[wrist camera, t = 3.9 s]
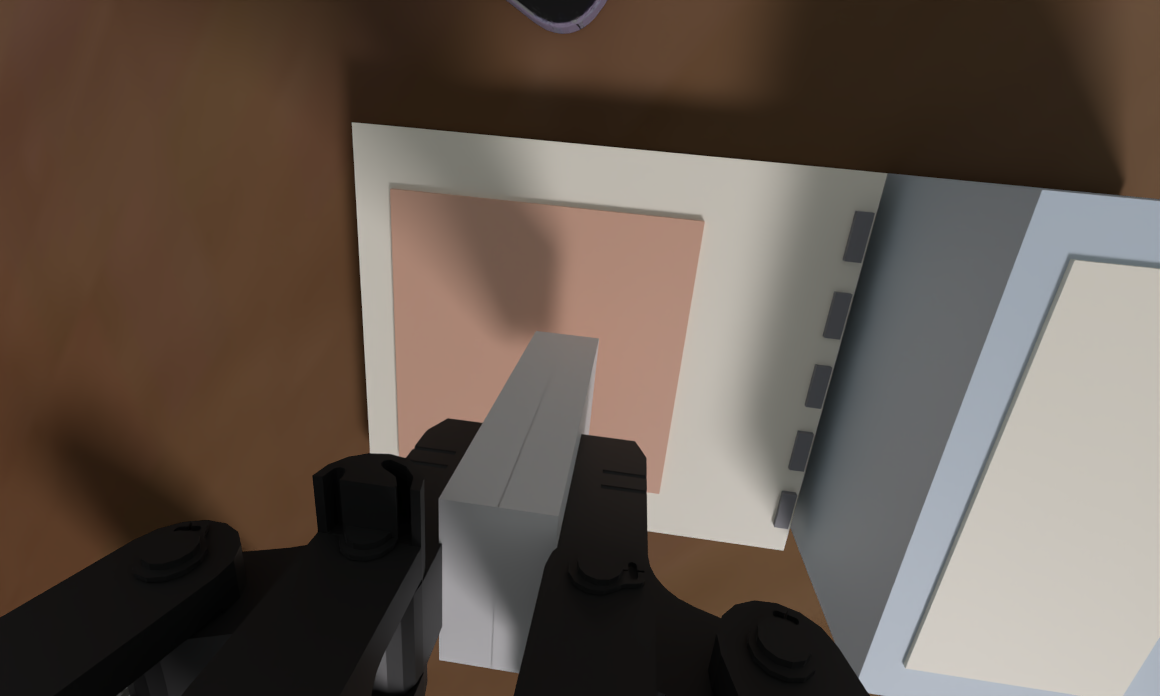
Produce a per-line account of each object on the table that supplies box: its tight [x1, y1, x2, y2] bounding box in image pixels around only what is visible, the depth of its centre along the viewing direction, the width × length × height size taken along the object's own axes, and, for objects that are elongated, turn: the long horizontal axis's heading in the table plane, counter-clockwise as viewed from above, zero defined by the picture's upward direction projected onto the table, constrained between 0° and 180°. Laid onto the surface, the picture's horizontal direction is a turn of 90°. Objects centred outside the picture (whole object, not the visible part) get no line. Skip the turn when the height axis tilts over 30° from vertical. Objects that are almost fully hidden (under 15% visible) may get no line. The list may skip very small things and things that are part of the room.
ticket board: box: [352, 122, 888, 550], centre depth 16 cm, size 13×11×2 cm
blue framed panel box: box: [790, 173, 1160, 696], centre depth 13 cm, size 6×11×6 cm, turn 175°
